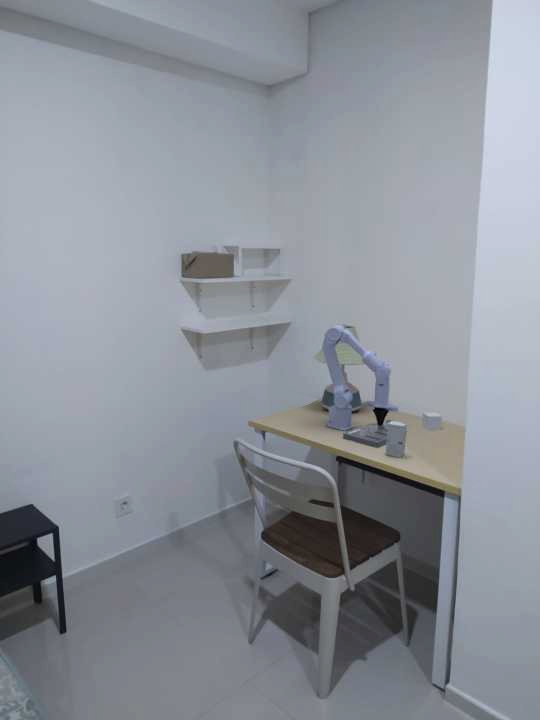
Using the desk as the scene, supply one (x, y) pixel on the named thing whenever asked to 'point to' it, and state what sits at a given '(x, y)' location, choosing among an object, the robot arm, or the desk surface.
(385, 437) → the panel
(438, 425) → the grey cube
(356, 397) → the desk lamp
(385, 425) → the block
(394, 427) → the skincare box
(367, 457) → the desk surface
